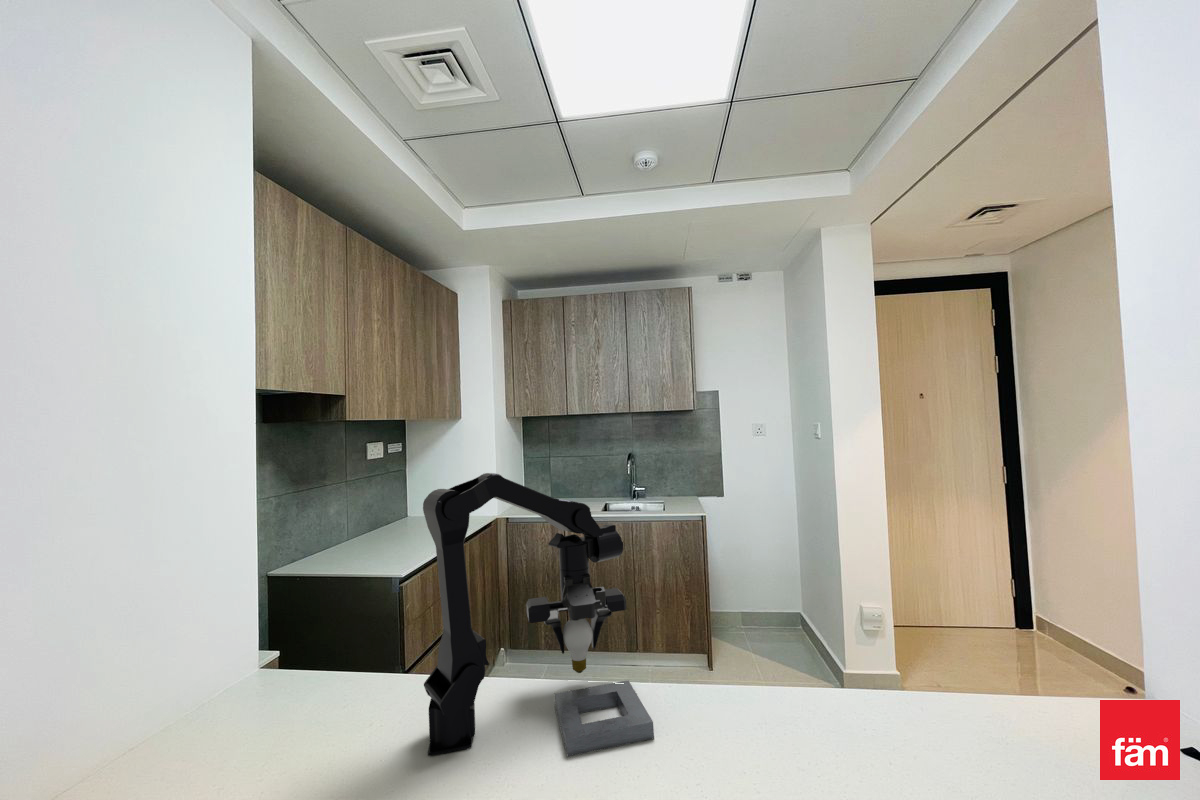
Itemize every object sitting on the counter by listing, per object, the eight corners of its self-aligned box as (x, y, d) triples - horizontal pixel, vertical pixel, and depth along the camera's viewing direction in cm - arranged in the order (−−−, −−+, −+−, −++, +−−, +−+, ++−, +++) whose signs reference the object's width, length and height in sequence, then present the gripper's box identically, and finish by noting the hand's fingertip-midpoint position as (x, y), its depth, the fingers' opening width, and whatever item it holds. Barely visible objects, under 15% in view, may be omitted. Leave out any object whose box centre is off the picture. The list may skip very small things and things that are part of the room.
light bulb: (594, 679, 89) (591, 623, 90) (562, 680, 90) (559, 624, 90) (595, 664, 95) (592, 612, 96) (565, 665, 95) (563, 613, 96)
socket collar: (567, 756, 72) (566, 739, 72) (555, 708, 85) (554, 693, 85) (654, 738, 75) (653, 721, 75) (629, 694, 88) (628, 680, 88)
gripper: (529, 584, 84) (533, 678, 83) (632, 572, 88) (637, 661, 87) (524, 568, 95) (528, 651, 94) (616, 558, 99) (620, 637, 98)
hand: (578, 650), depth 93 cm, fingers closed on light bulb, 6 cm apart
